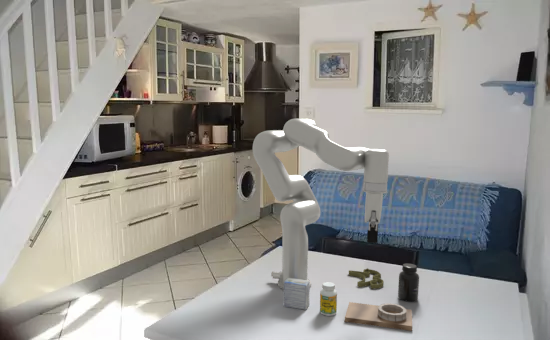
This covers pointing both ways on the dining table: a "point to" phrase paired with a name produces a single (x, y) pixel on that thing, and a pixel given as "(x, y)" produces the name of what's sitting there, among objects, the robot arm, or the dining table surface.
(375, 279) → the cookie cutter
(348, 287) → the dining table surface
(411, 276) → the supplement bottle
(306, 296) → the medicine box
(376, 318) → the collar board
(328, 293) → the supplement bottle
